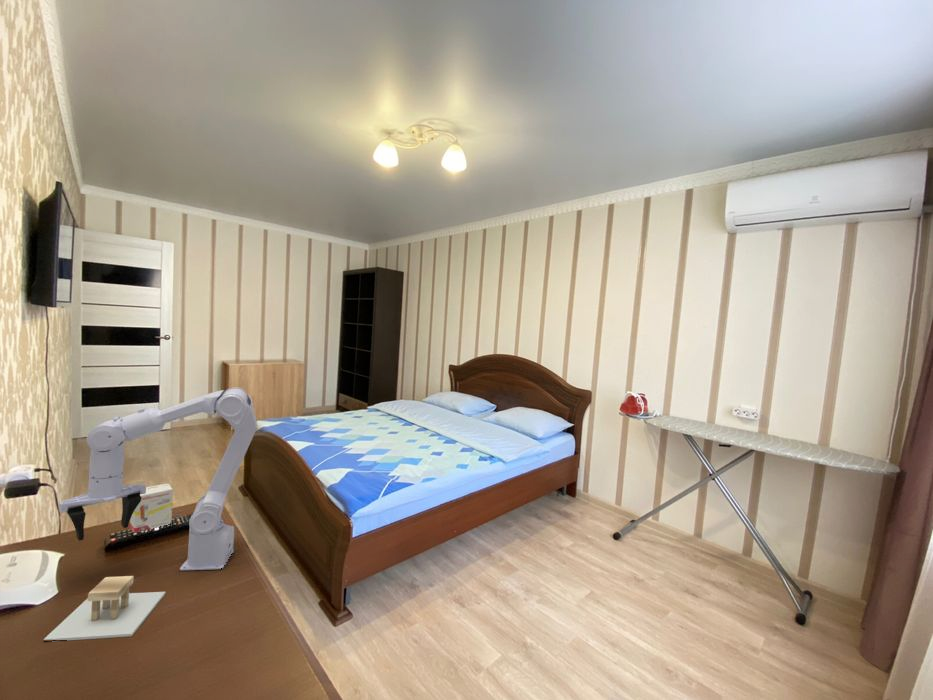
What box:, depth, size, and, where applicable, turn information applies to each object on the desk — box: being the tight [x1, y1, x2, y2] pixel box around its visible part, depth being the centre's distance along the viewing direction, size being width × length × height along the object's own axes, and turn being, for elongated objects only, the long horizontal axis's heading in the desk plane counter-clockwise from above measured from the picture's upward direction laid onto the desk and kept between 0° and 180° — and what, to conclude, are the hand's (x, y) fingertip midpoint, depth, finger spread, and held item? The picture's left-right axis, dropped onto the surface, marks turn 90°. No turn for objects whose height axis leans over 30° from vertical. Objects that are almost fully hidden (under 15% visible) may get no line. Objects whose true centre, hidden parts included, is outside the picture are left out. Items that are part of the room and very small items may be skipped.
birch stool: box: [87, 575, 134, 621], centre depth 79 cm, size 5×5×6 cm
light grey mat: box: [43, 591, 167, 641], centre depth 79 cm, size 14×12×1 cm
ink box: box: [129, 483, 174, 533], centre depth 110 cm, size 9×5×12 cm, turn 141°
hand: (103, 532), depth 89 cm, fingers open, 7 cm apart
